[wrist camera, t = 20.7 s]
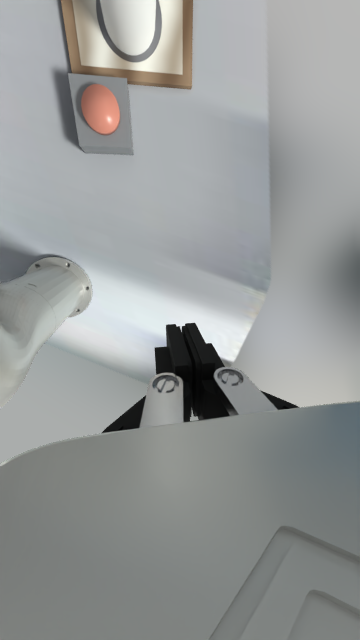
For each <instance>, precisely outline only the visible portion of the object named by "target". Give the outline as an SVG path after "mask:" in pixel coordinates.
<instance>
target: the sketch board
mask: <svg viewBox="0 0 360 640" xmlns="http://www.w3.org/2000/svg"><path fill="white" fill-rule="evenodd" d="M61 5H62V12H63V18H64V25H65V31H66V37H67V44H68V50H69V57H70V63H71V70H72V74H84V75H95V76H106V77H118V78H127V84H134V85H145V86H157V87H169V88H181V89H191V87H192V28H193V0H156V16H155V32H154V37H153V40H152V43H151V44H150V46H149V48H148V49H147V50H146V51H145V52H143V53H142V54H140V55H128V54H126V53H124V52H122V51H121V50H120V49H118V48H117V47H116V46H115V44H114V43H113V42H112V40H111V38H110V37H109V34H108V32H107V30H106V26H105V23H104V18H103V13H102V8H101V3H100V0H61Z"/></svg>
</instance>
